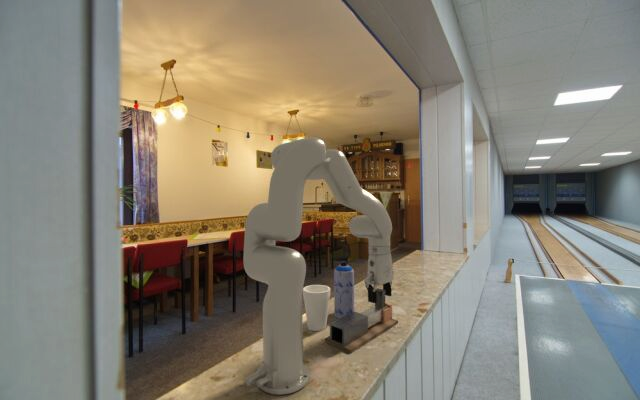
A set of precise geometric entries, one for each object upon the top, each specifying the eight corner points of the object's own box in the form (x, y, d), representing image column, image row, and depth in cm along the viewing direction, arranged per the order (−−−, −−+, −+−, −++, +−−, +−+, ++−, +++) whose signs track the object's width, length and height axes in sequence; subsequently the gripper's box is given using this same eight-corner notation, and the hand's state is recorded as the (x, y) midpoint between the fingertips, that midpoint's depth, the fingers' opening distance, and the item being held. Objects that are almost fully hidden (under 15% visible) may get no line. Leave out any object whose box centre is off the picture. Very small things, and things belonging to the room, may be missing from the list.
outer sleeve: (344, 347, 82) (343, 328, 82) (330, 340, 86) (329, 322, 86) (368, 332, 91) (367, 315, 91) (354, 327, 94) (354, 311, 94)
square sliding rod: (361, 331, 90) (361, 300, 90) (352, 328, 92) (351, 298, 92) (387, 316, 101) (387, 289, 101) (378, 313, 104) (378, 287, 104)
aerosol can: (358, 313, 109) (358, 261, 109) (347, 320, 103) (346, 264, 103) (341, 309, 114) (341, 258, 114) (329, 315, 108) (329, 262, 108)
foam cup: (299, 323, 100) (299, 286, 100) (323, 319, 104) (323, 283, 104) (309, 335, 92) (309, 294, 92) (335, 329, 95) (334, 290, 95)
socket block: (384, 323, 98) (384, 308, 98) (371, 318, 102) (371, 304, 102) (392, 318, 101) (391, 304, 101) (378, 314, 105) (378, 301, 105)
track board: (350, 353, 80) (350, 349, 80) (324, 341, 87) (324, 338, 87) (398, 323, 100) (398, 320, 100) (373, 315, 107) (373, 313, 107)
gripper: (375, 254, 92) (375, 308, 92) (401, 248, 105) (401, 295, 105) (356, 252, 97) (356, 302, 97) (383, 246, 110) (383, 290, 110)
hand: (380, 298), depth 101 cm, fingers open, 9 cm apart
